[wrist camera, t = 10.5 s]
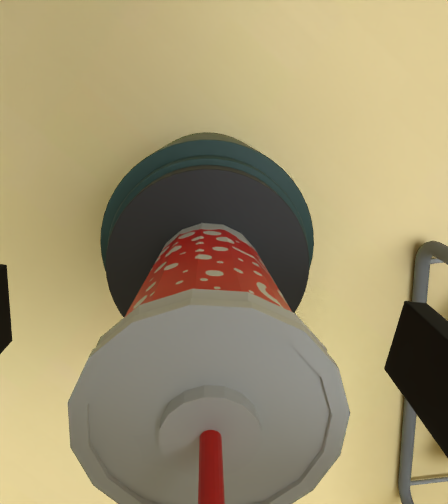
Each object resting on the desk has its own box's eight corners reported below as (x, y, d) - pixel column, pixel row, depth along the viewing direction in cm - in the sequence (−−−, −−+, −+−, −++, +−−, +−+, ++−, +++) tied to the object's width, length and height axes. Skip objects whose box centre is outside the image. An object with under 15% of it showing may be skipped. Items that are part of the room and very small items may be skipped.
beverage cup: (281, 325, 18) (503, 929, 4) (152, 341, 18) (-12, 994, 4) (272, 196, 16) (628, 606, 2) (126, 214, 16) (-319, 723, 2)
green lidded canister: (174, 104, 27) (144, 89, 14) (302, 175, 29) (381, 219, 16) (116, 234, 30) (45, 322, 17) (236, 290, 32) (256, 406, 19)
